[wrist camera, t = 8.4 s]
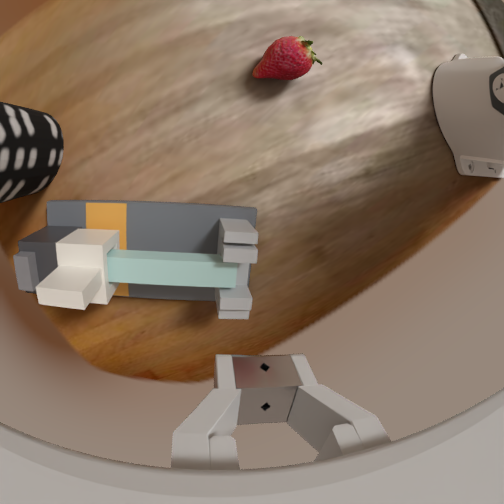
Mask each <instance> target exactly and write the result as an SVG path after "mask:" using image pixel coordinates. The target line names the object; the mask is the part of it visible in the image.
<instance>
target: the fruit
mask: <svg viewBox="0 0 504 504" xmlns="http://www.w3.org/2000/svg"><path fill="white" fill-rule="evenodd" d="M312 43H313V41H310V40H308V41H306V40H305V39H304V37H303V36H299V37H293V36H289V37H282V38H280V39H278V40H276V41H275V42H274V43H273V44H272V45H271V46H269V47H268V49H267V50H266V51H265V53H264V55H263V58H262V60H261V61H260V62H259V63H258V64H257V66H256V67H255V68H254V70H253V74H252V75H253V76H254V77H255V78H274V79H279V80H293V79H296V78H298V77H301V76H303V75H304V74H306V73H307V72H308V71H309V70H310V68H311V66H312V64H314V62H315V61H317V62H318V63H320V64H321V65H322V62H321V61H320V60H319V59H317V58H316V57H315V56H314V54H315V53H314V52H313V51H312V48H311V47H310V45H311V44H312ZM315 55H316V54H315Z"/></svg>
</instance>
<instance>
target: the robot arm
mask: <svg viewBox="0 0 504 504" xmlns="http://www.w3.org/2000/svg"><path fill="white" fill-rule="evenodd" d="M433 100H434V107H435V112H436V116H437V119H438V123H439V125H440V128H441V131H442V133H443V135H444V137H445V139H446V141H447V143H448V144H449V146H450V148H451V150H452V152H453V154H454V158H455V163H456V166H457V170H458V172H459V173H460V174H461V175H469V176H483V177H495V178H504V60H503V59H502V58H501V57H498V56H492V57H474V58H468V57H467V56H466V55H465V54H463V53H461V54H456V56H455V57H454V59H453V60H452V61H450V62H445V63H443V64H441V65H440V66H439V67H438V69H437V70H436V72H435V75H434V80H433ZM277 422H287V424H288V425H289V426H290V427H291V428H293V429H294V430H295V431H296V432H297V433H298V434H299V435H300V436H301V437H302V438H303V439H304V440H305V441H307V442H308V443H309V444H310V445H311V446H312V447H313V448H315V449H316V450H317V451H318V452H319V454H318V456H317V457H316V459H315V460H314V462H309V463H302V464H295V465H289V466H281V467H280V466H279V467H270V468H258V469H244V470H243V469H241V470H240V468H239V463H238V456H237V449H236V443H235V439H234V438H232V437H231V434H232V433H233V431H234V430H235V428H236V426H237V425H242V424H258V423H277ZM0 504H504V388H503V389H501V390H499V391H498V392H496V393H495V394H493V395H491V396H490V397H488V398H487V399H485V400H483V401H481V402H479V403H478V404H476V405H474V406H472V407H470V408H469V409H467V410H465V411H463V412H461V413H459V414H457V415H455V416H453V417H451V418H449V419H447V420H445V421H443V422H440V423H438V424H436V425H434V426H431V427H429V428H427V429H424V430H422V431H419V432H417V433H414V434H411V435H409V436H406V437H403V438H401V439H398V440H395V441H392V442H391V440H390V438H389V437H388V435H387V433H386V431H385V430H384V428H383V426H382V425H381V423H380V421H379V420H378V418H377V416H376V415H374V414H372V413H370V412H369V411H367V410H365V409H363V408H361V407H360V406H358V405H356V404H355V403H353V402H351V401H349V400H348V399H346V398H344V397H343V396H341V395H340V394H338V393H336V392H335V391H333V390H332V389H330V388H328V387H327V386H325V385H323V384H318V382H317V380H316V378H315V376H314V374H313V372H312V369H311V367H310V365H309V363H308V361H307V359H306V357H305V355H304V354H303V353H302V354H289V355H265V356H261V355H220V354H216V356H215V370H214V389H212V390H211V391H210V393H209V394H208V395H207V396H206V397H205V398H204V399H203V401H202V402H201V403H200V404H199V405H198V406H197V407H196V408H195V409H194V410H193V412H192V413H191V414H190V415H189V416H188V417H187V418H186V419H185V420H184V421H183V422H182V424H181V425H180V426H179V427H178V428H177V429H176V430H175V431H174V432H173V441H172V458H171V468H164V467H155V466H147V465H140V464H134V463H127V462H122V461H116V460H111V459H107V458H102V457H97V456H93V455H89V454H86V453H82V452H78V451H74V450H71V449H68V448H64V447H61V446H58V445H55V444H52V443H49V442H46V441H43V440H41V439H38V438H35V437H33V436H30V435H28V434H25V433H23V432H21V431H18V430H16V429H14V428H12V427H9V426H7V425H5V424H3V423H1V422H0Z"/></svg>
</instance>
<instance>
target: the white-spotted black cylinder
mask: <svg viewBox="0 0 504 504" xmlns="http://www.w3.org/2000/svg"><path fill="white" fill-rule="evenodd" d="M62 156H63V135H62V131H61V128H60V126H59V124H58V123H57V121H56V120H55V119H54V118H53V117H52V116H51V115H49V114H47V113H44V112H40V111H36V110H32V109H29V108H25V107H21V106H16V105H12V104H8V103H3V102H0V203H2V202H5V201H9V200H12V199H15V198H19V197H23V196H26V195H30V194H34V193H37V192H39V191H41V190H43V189H44V188H45V187H47V186H48V185H49V183H50V182H51V181H52V180H53V178H54V177H55V175H56V174H57V171H58V169H59V167H60V164H61V160H62Z"/></svg>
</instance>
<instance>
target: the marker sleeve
mask: <svg viewBox="0 0 504 504" xmlns="http://www.w3.org/2000/svg"><path fill="white" fill-rule="evenodd" d="M111 249H119V250H120V244H119V230H105V229H77V230H75V231H74V232H72V233H70V234H69V235H67V236H66V237H64V238H63V239H61V240H60V241H58V242H56V253H57V262H58V267H57V268H56V269H55V270H54V271H53V272H52V273H50V274H49V275H48V276H47V277H46V278H45V279H44V280H43V281H42V282H40V283H39V284H38V285H37V286H36V292H37V297H38V302H39V304H42V305H49V306H57V307H65V308H73V309H82V310H85V309H86V307H87V306H88V304H89V303H97V304H108V302H109V301H110V299H111V297H112V295H113V294H114V292H115V290H116V289H117V287H118V285H119V283H120V282H109V279H108V266H107V253H108V252H109V251H110V250H111Z"/></svg>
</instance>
